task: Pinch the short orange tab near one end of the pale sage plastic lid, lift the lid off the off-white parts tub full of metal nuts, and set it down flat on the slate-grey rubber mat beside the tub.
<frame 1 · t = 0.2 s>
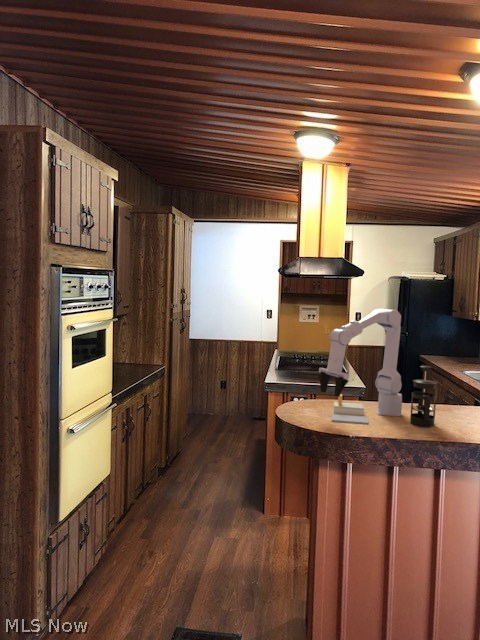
hand: (329, 394, 209), 10 cm above the countertop, tool pointing down, fingers open, 7 cm apart
mat: (349, 419, 213), on the countertop
french press: (422, 425, 209), on the countertop
tub: (348, 412, 223), on the countertop
lid: (348, 408, 223), point 2 cm above the countertop, touching tub
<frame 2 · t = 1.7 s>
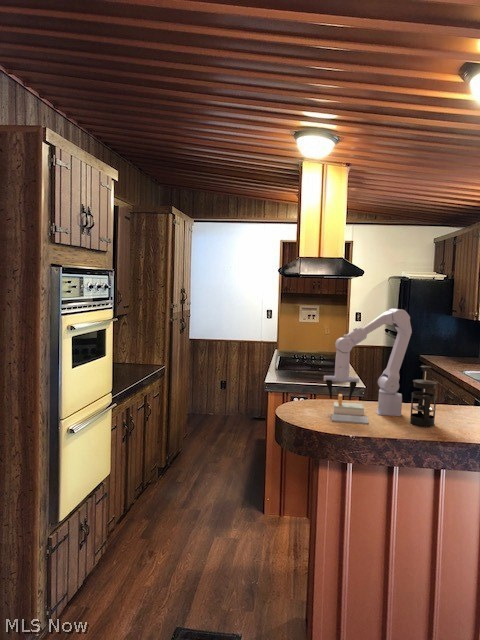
hand: (340, 399, 223), 6 cm above the countertop, tool pointing down, fingers open, 7 cm apart
nothing on the countertop moved.
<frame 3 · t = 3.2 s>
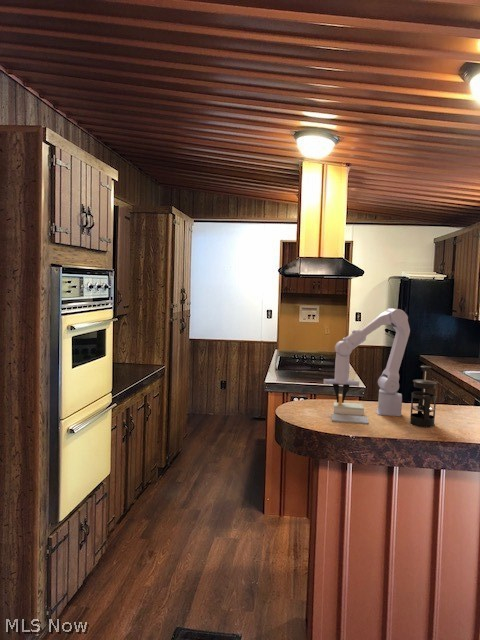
hand: (340, 402, 224), 4 cm above the countertop, tool pointing down, fingers closed on lid
lid: (348, 408, 223), point 2 cm above the countertop, touching gripper, tub
everything else where it was.
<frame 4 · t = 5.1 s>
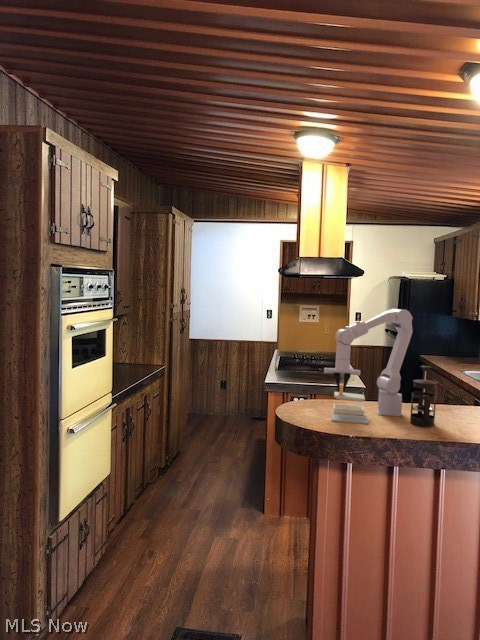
hand: (341, 391, 220), 9 cm above the countertop, tool pointing down, fingers closed on lid
lid: (349, 398, 220), point 7 cm above the countertop, touching gripper
everything else where it was.
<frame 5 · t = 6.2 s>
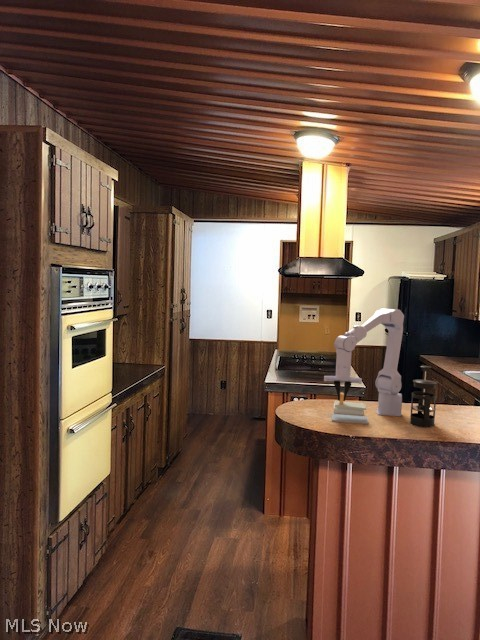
hand: (341, 400, 212), 7 cm above the countertop, tool pointing down, fingers closed on lid
lid: (349, 408, 212), point 4 cm above the countertop, touching gripper
everything else where it was.
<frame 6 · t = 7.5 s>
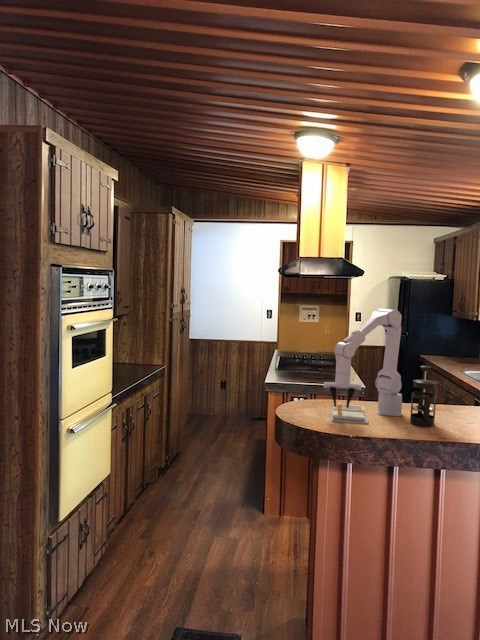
hand: (341, 406, 213), 5 cm above the countertop, tool pointing down, fingers open, 4 cm apart
lid: (348, 417, 213), point 1 cm above the countertop, touching mat
everything else where it was.
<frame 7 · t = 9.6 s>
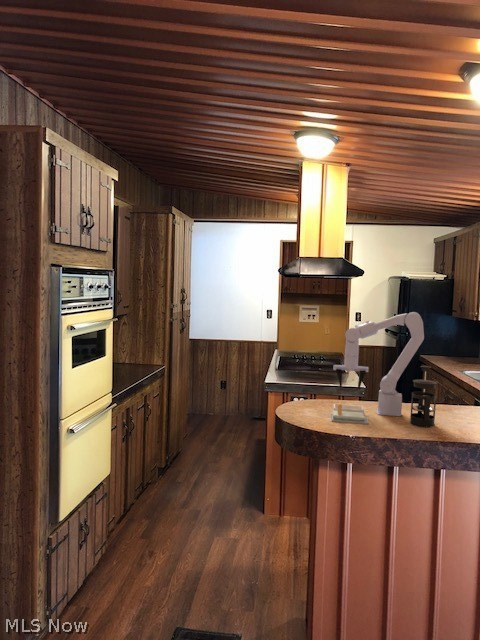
hand: (349, 387, 229), 9 cm above the countertop, tool pointing down, fingers open, 7 cm apart
nothing on the countertop moved.
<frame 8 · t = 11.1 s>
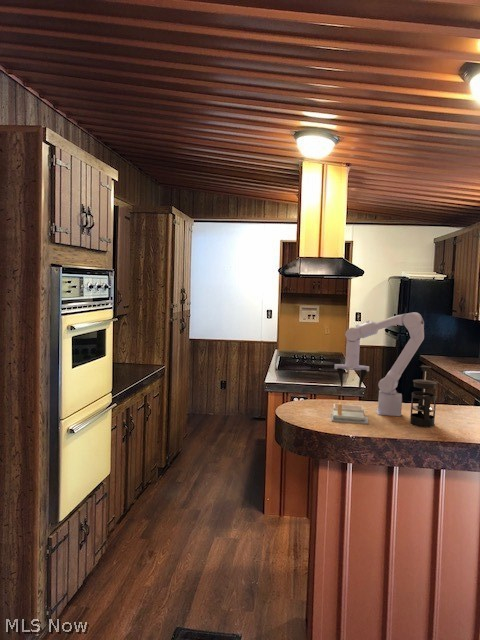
hand: (350, 386, 231), 9 cm above the countertop, tool pointing down, fingers open, 7 cm apart
nothing on the countertop moved.
at the end: lid 0.5 cm off-centre on the mat, point 0.6 cm above the mat's base; lid tilted 0°; the gripper is holding nothing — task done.
